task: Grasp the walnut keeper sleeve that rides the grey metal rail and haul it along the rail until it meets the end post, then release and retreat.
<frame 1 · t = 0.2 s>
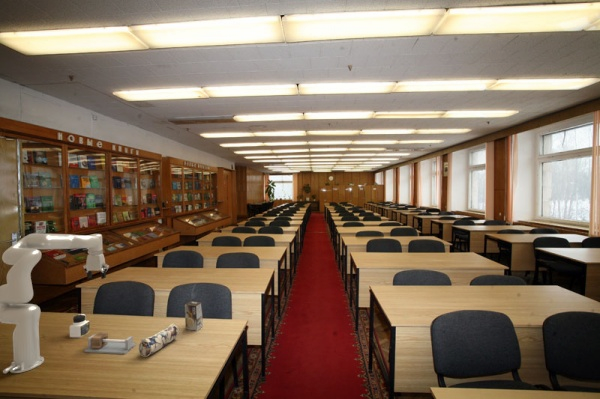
hand: (96, 278, 188), 31 cm above the table, fingers open, 9 cm apart
pencil case: (160, 347, 161), on the table
coffee box: (194, 328, 183), on the table
keeper: (99, 340, 160), point 5 cm above the table, slide at 6.5 cm
rail: (110, 348, 160), on the table
medicine bottle: (80, 334, 176), on the table
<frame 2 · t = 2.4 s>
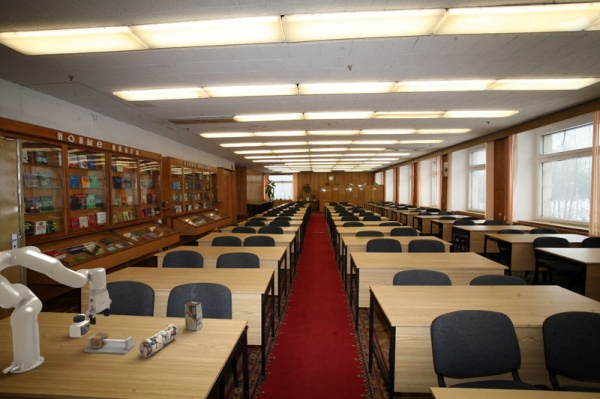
hand: (100, 320, 160), 16 cm above the table, fingers open, 9 cm apart
nothing on the table moved.
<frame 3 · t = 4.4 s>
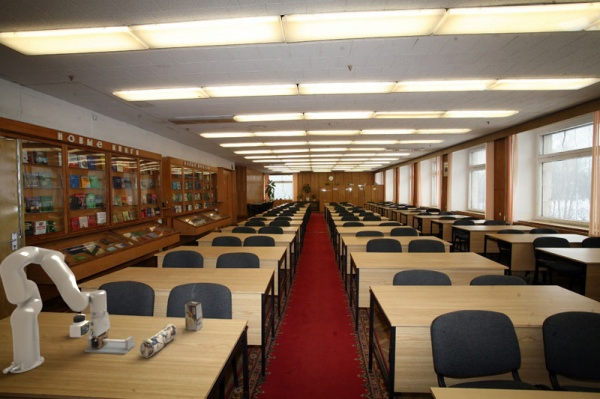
hand: (99, 343, 160), 2 cm above the table, fingers closed on keeper, 6 cm apart
keeper: (99, 340, 160), point 4 cm above the table, slide at 6.5 cm, touching gripper
everything else where it was.
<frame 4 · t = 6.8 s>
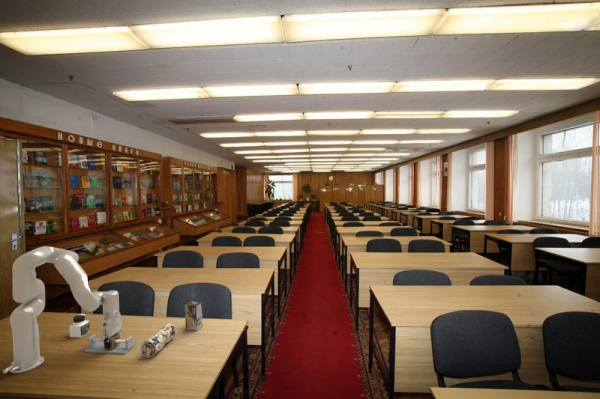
hand: (112, 344, 160), 2 cm above the table, fingers closed on keeper, 6 cm apart
keeper: (112, 340, 159), point 4 cm above the table, slide at -1.0 cm, touching gripper
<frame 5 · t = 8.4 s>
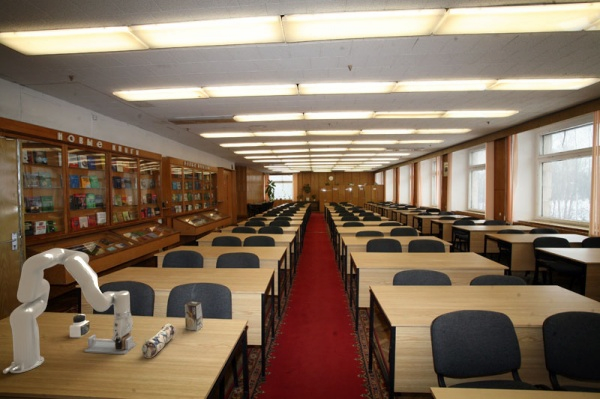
hand: (123, 345, 159), 2 cm above the table, fingers closed on keeper, 6 cm apart
keeper: (123, 341, 159), point 5 cm above the table, slide at -7.6 cm, touching gripper
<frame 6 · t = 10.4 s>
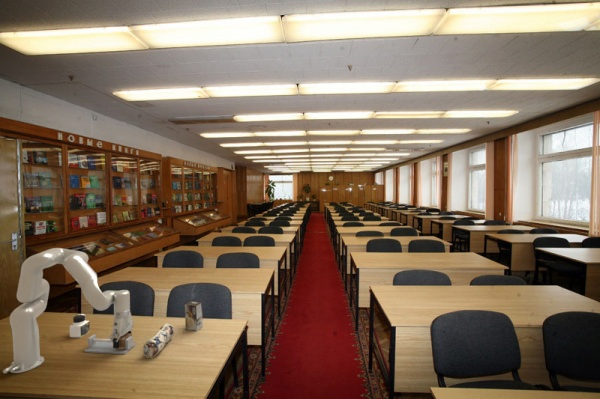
hand: (122, 343, 159), 4 cm above the table, fingers open, 9 cm apart
keeper: (123, 341, 159), point 4 cm above the table, slide at -7.7 cm
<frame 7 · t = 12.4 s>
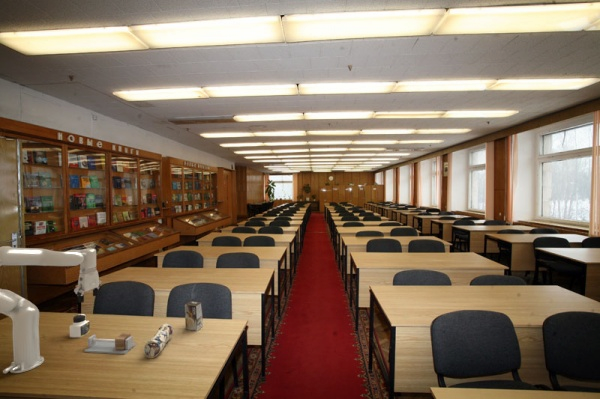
hand: (88, 299, 166), 26 cm above the table, fingers open, 9 cm apart
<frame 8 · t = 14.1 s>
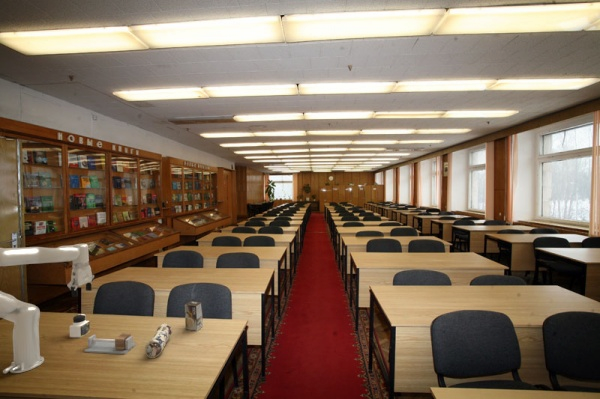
hand: (81, 293, 168), 28 cm above the table, fingers open, 9 cm apart
at the end: keeper slide at -7.7 cm; the gripper is holding nothing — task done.
